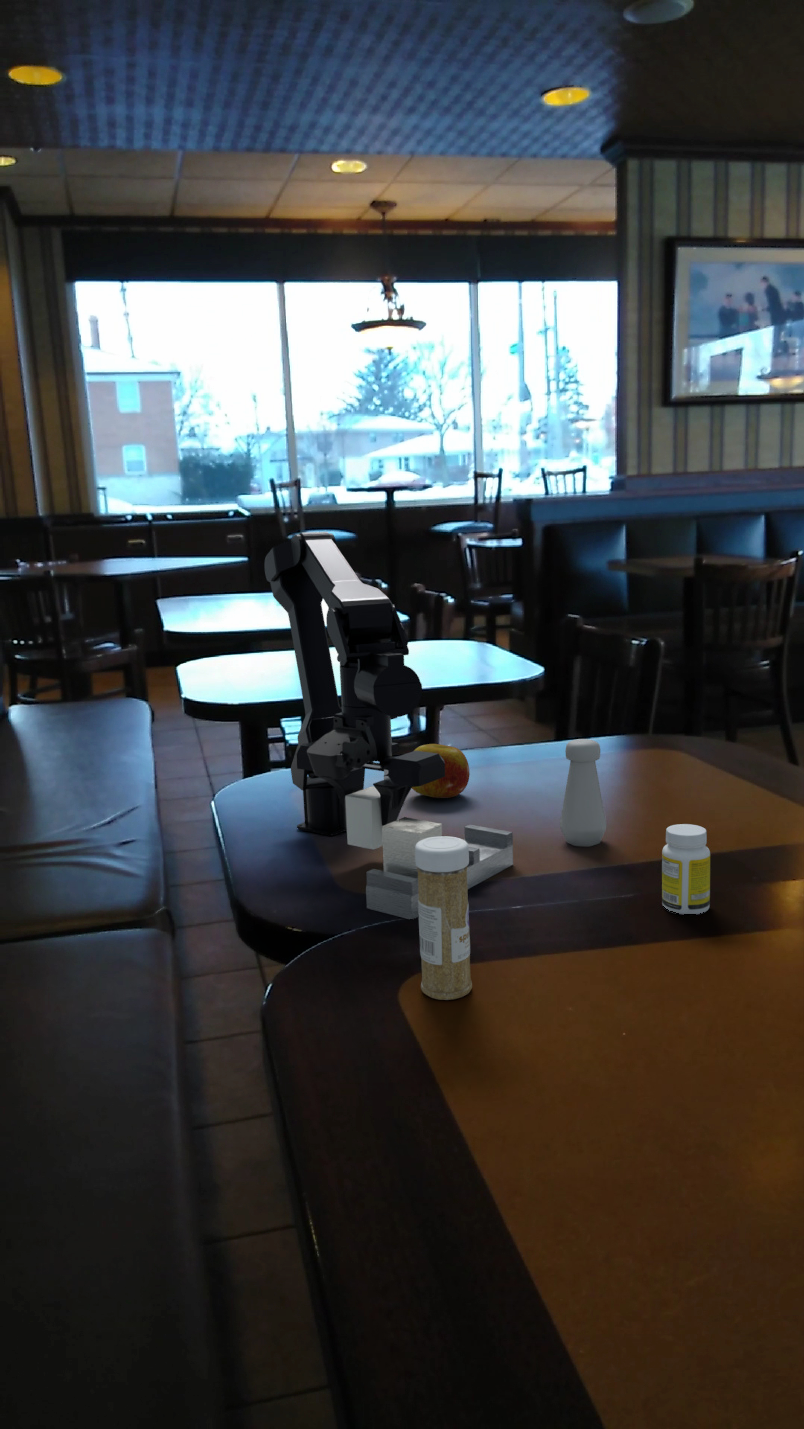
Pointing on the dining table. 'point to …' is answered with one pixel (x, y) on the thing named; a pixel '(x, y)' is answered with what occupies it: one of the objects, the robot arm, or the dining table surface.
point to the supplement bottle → (686, 870)
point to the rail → (473, 878)
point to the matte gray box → (364, 818)
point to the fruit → (446, 772)
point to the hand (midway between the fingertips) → (371, 830)
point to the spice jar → (443, 916)
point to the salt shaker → (583, 796)
